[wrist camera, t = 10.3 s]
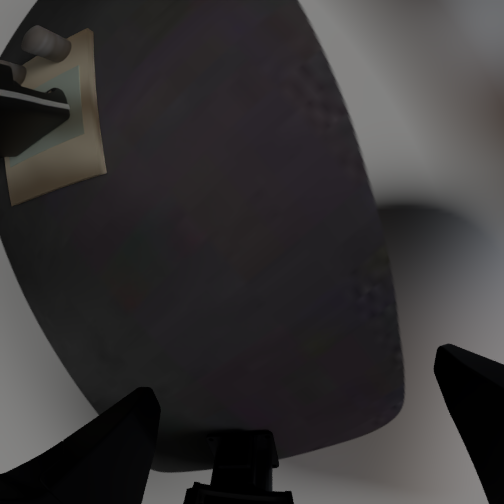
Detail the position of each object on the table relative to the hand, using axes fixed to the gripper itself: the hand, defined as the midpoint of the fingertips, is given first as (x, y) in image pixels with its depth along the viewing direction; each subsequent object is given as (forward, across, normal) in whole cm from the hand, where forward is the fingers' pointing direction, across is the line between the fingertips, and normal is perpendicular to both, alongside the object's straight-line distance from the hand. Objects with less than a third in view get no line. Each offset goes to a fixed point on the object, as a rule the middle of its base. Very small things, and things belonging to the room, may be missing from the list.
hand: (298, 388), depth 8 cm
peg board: (+13, +16, -14) cm, 25 cm away
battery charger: (+12, +16, -14) cm, 25 cm away
